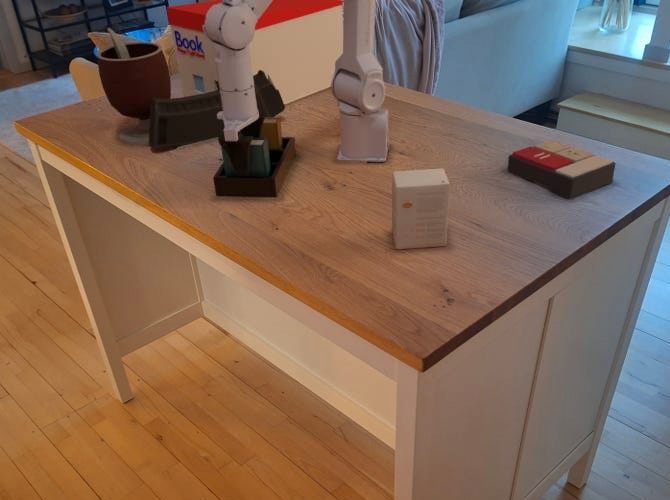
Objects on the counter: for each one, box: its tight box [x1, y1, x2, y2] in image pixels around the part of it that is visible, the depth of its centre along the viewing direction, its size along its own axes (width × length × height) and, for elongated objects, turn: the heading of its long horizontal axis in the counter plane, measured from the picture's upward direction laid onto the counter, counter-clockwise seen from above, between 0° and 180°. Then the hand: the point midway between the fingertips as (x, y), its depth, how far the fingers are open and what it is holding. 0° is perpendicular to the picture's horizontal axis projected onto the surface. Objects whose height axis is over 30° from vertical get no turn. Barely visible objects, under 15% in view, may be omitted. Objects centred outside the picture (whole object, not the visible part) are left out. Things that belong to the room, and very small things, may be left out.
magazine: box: [149, 70, 286, 150], centre depth 137 cm, size 17×3×30 cm
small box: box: [391, 167, 451, 250], centre depth 100 cm, size 8×6×10 cm
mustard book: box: [260, 116, 283, 149], centre depth 126 cm, size 7×3×8 cm, turn 82°
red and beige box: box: [507, 139, 617, 200], centre depth 117 cm, size 11×4×15 cm
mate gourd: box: [96, 27, 172, 146], centre depth 137 cm, size 16×14×20 cm
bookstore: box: [166, 0, 344, 106], centre depth 155 cm, size 21×35×21 cm, turn 137°
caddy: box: [212, 136, 297, 198], centre depth 123 cm, size 11×19×4 cm, turn 172°
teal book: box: [220, 138, 272, 177], centre depth 116 cm, size 8×3×8 cm, turn 82°
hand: (247, 165), depth 116 cm, fingers open, 7 cm apart
